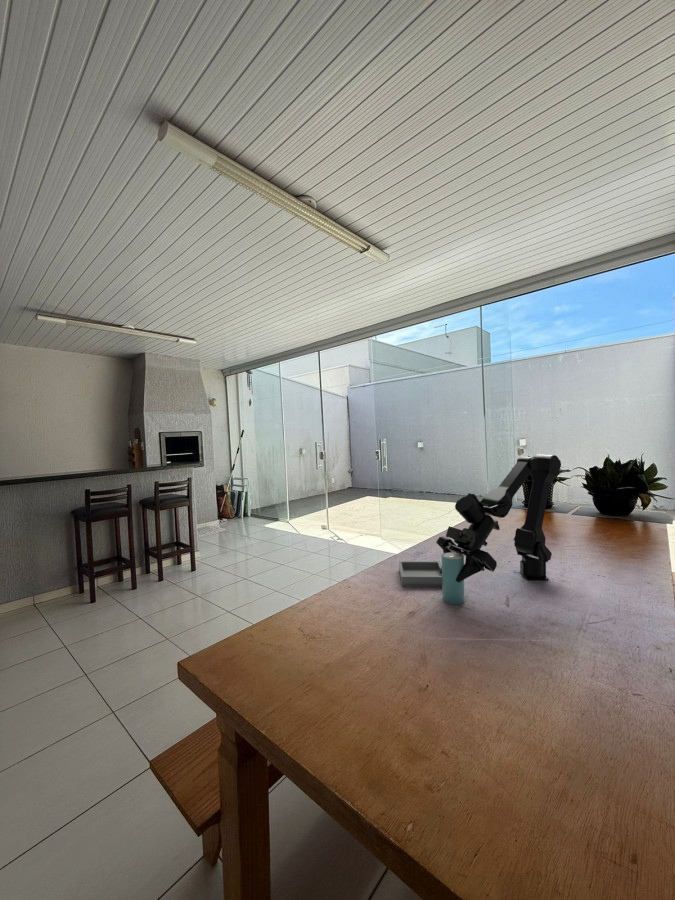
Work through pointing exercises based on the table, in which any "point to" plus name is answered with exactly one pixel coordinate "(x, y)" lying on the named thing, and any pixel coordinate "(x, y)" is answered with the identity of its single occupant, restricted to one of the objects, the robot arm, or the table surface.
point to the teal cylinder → (452, 578)
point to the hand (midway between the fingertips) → (449, 577)
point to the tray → (420, 573)
